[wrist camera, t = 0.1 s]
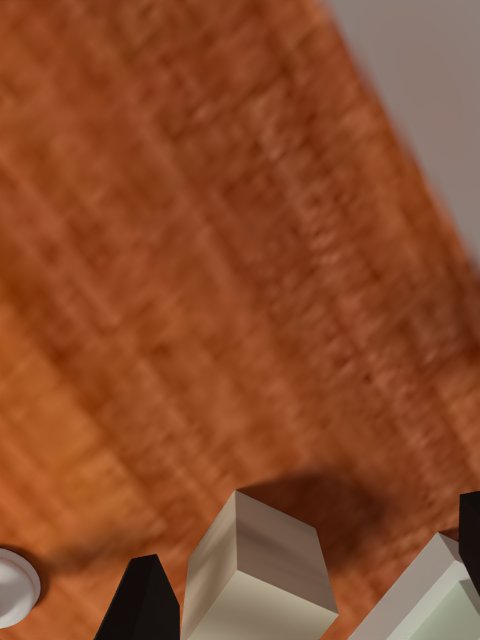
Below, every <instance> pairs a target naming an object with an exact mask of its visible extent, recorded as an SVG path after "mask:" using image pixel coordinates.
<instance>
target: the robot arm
mask: <svg viewBox="0 0 480 640" xmlns="http://www.w3.org/2000/svg"><path fill="white" fill-rule="evenodd" d="M458 553H459V555H460V557H461V559H462V561H463V564H464V566H465V568H466V570H467V572H468V574H469V576H470V578H471V581H472V583H473V585H474V587H475V589H476V591H477V593H478V595H479V597H480V491H476V492H471V493H466V494H461V495H460V507H459V551H458ZM94 640H180V606H179V603H178V601H177V599H176V596H175V594H174V592H173V590H172V587H171V585H170V583H169V581H168V578H167V576H166V574H165V572H164V569H163V567H162V565H161V563H160V560H159V558H158V556H157V554H153V555H148V556H143V557H138V558H133V559H131V560H130V562H129V563H128V565H127V568H126V570H125V572H124V575H123V577H122V579H121V581H120V584H119V586H118V588H117V591H116V593H115V595H114V597H113V599H112V602H111V604H110V606H109V608H108V610H107V613H106V615H105V617H104V619H103V621H102V623H101V625H100V628H99V630H98V632H97V634H96V636H95V638H94Z"/></svg>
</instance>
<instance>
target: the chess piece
mask: <svg viewBox="0 0 480 640" xmlns="http://www.w3.org/2000/svg"><path fill="white" fill-rule="evenodd" d="M40 589H41V586H40V580H39V577H38V574H37V572H36V571H35V569H34V568H33V566H32V565H31V564H30V563H29V562H28V561H27V560H25V559H24V558H23V557H21V556H20V555H18V554H16V553H14V552H12V551H9V550H6V549H2V548H0V628H5V627H9V626H12V625H14V624H16V623H18V622H20V621H21V620H22V619H24V618H25V617H26V616H27V615H28V614H29V612H30V611H31V609H32V607H33V606H34V604H35V603H36V602H37V600H38V598H39V595H40Z"/></svg>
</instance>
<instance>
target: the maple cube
mask: <svg viewBox="0 0 480 640" xmlns="http://www.w3.org/2000/svg"><path fill="white" fill-rule="evenodd" d="M338 615H339V613H338V609H337V606H336V602H335V598H334V595H333V591H332V587H331V584H330V580H329V576H328V573H327V569H326V565H325V562H324V558H323V554H322V551H321V547H320V543H319V540H318V536H317V532H316V529H315V528H314V527H312V526H310V525H308V524H306V523H304V522H302V521H299V520H297V519H295V518H293V517H291V516H289V515H287V514H285V513H283V512H281V511H278V510H276V509H274V508H272V507H270V506H268V505H266V504H264V503H262V502H260V501H257V500H255V499H253V498H251V497H249V496H247V495H245V494H243V493H241V492H238V491H236V490H234V492H233V493H232V495H231V496H230V498H229V499H228V501H227V502H226V504H225V505H224V507H223V508H222V510H221V511H220V513H219V514H218V516H217V517H216V519H215V520H214V522H213V523H212V525H211V526H210V528H209V529H208V531H207V532H206V534H205V535H204V537H203V538H202V540H201V541H200V543H199V544H198V546H197V547H196V549H195V550H194V552H193V553H192V555H191V556H190V558H189V563H188V573H187V582H186V592H185V601H184V611H183V620H182V629H181V639H180V640H319V639H320V637H321V636H322V635H323V634H324V632H325V631H326V630H327V629H328V627H329V626H330V625H331V624H332V623H333V621H334V620H335V619H336V618H337V616H338Z"/></svg>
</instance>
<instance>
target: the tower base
mask: <svg viewBox="0 0 480 640" xmlns="http://www.w3.org/2000/svg"><path fill="white" fill-rule="evenodd" d="M458 551H459V543H458V542H456V541H455V540H453V539H451V538H449V537H447V536H445V535H443V534H441V533H439V532H437V533H436V534H435V535H434V537H433V538H432V539H431V540H430V541H429V543H428V544H427V545H426V546H425V547H424V549H423V550H422V551H421V552H420V553H419V555H418V556H417V557H416V558H415V559H414V561H413V562H412V563H411V564H410V565H409V567H408V568H407V569H406V570H405V571H404V573H403V574H402V575H401V576H400V577H399V579H398V580H397V581H396V582H395V583H394V584H393V586H392V587H391V588H390V589H389V590H388V592H387V593H386V594H385V595H384V596H383V598H382V599H381V600H380V601H379V602H378V604H377V605H376V606H375V607H374V608H373V610H372V611H371V612H370V613H369V614H368V616H367V617H366V618H365V619H364V620H363V622H362V623H361V624H360V625H359V626H358V628H357V629H356V630H355V631H354V632H353V633H352V635H351V636H350V637H349V638H348V639H347V640H408V639H409V638H410V637H411V636H412V634H413V633H414V632H415V631H416V630H417V629H418V627H419V626H420V625H421V624H422V623H423V622H424V620H425V619H426V618H427V617H428V616H429V615H430V614H431V612H432V611H433V610H434V609H435V608H436V607H437V605H438V604H439V603H440V602H441V601H442V600H443V598H444V597H445V596H446V595H447V594H448V593H449V591H450V590H451V589H452V588H453V587H454V586H455V584H456V583H457V582H458V581H459V582H461V583H464V584H466V585H468V586H470V587H472V588H474V589H475V587H474V585H473V583H472V581H471V578H470V576H469V574H468V572H467V570H466V568H465V566H464V564H463V561H462V559H461V557H460V555H459V553H458Z"/></svg>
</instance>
